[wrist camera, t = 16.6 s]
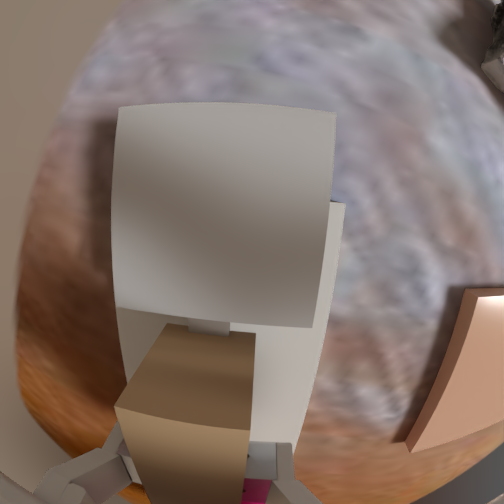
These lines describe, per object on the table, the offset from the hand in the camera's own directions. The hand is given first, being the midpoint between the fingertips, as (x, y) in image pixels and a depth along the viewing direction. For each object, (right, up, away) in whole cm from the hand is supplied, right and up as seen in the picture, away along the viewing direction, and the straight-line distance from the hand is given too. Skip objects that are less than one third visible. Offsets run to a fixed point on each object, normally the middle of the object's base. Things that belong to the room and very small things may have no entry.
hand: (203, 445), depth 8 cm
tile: (+11, 0, +3) cm, 11 cm away
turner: (0, +3, +1) cm, 4 cm away
